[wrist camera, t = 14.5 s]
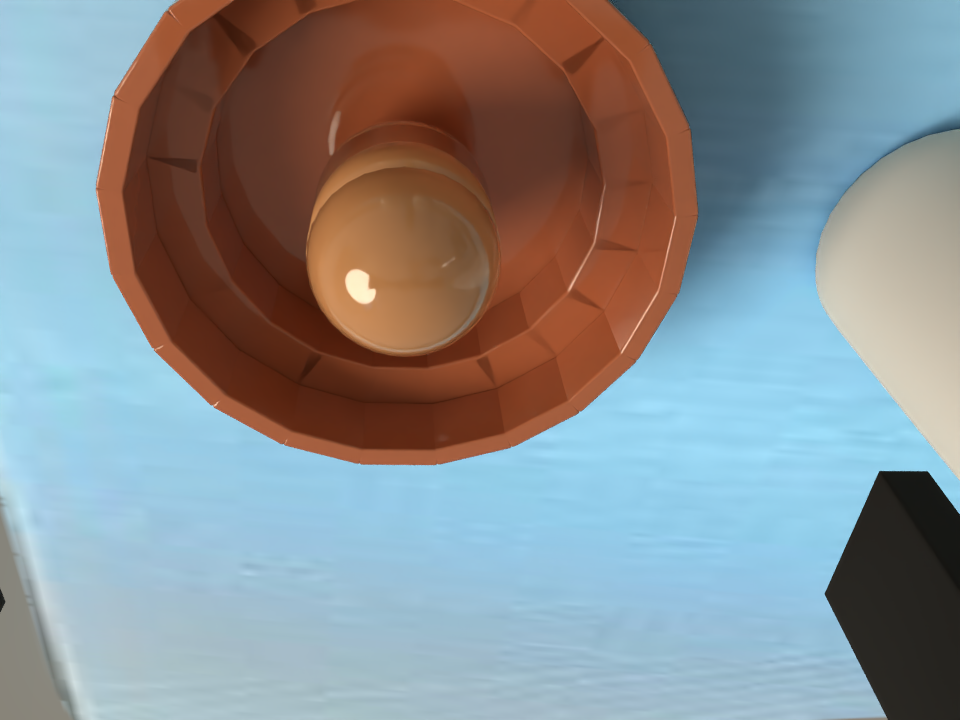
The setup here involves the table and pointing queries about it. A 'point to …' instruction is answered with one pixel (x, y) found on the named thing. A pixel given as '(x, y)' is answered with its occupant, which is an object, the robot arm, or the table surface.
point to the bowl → (292, 188)
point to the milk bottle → (903, 281)
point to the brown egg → (403, 239)
